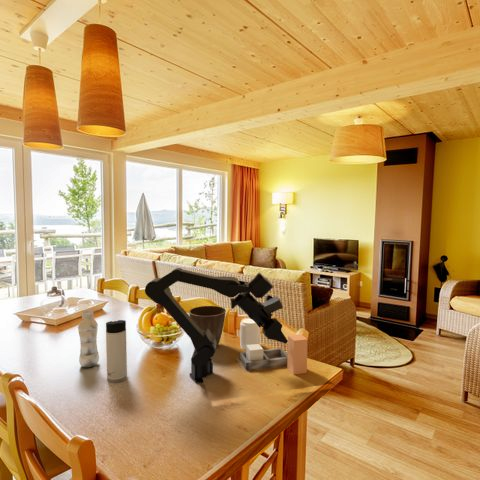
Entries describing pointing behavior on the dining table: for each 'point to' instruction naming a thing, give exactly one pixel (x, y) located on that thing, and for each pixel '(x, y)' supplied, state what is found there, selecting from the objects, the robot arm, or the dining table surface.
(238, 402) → the dining table surface
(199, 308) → the plant pot
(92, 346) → the plastic bottle
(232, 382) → the dining table surface
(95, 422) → the dining table surface
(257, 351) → the cream white block
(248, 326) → the beverage can
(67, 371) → the dining table surface
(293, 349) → the jaw tall
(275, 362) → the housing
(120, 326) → the travel mug
